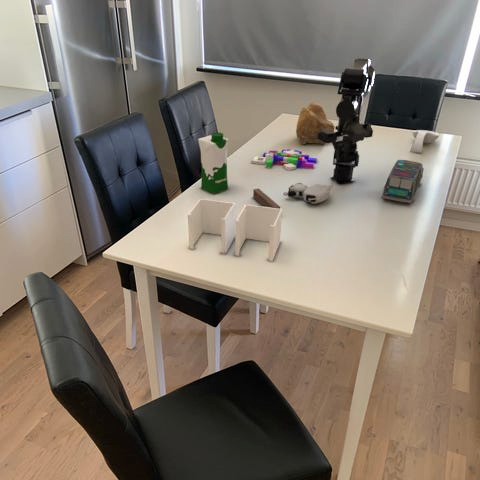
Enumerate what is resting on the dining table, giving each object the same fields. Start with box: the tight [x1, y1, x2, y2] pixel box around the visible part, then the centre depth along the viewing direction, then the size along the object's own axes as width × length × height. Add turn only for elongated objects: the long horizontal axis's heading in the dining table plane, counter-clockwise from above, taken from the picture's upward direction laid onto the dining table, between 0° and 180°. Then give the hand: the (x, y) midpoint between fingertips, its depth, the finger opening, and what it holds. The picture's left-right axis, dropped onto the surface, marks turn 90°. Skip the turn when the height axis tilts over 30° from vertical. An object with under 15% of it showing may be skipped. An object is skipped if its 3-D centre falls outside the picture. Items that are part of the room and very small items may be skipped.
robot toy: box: [282, 182, 334, 205], centre depth 168 cm, size 12×4×15 cm
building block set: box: [251, 148, 318, 171], centre depth 197 cm, size 25×20×4 cm
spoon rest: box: [410, 129, 440, 154], centre depth 213 cm, size 24×12×7 cm, turn 153°
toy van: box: [381, 159, 425, 204], centre depth 172 cm, size 11×25×10 cm, turn 155°
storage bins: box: [187, 198, 283, 262], centre depth 140 cm, size 25×11×11 cm, turn 75°
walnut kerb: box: [252, 188, 281, 209], centre depth 163 cm, size 2×16×3 cm, turn 24°
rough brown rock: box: [295, 102, 336, 146], centre depth 213 cm, size 23×17×15 cm
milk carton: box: [197, 131, 230, 195], centre depth 169 cm, size 9×9×20 cm
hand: (341, 158), depth 166 cm, fingers open, 3 cm apart
